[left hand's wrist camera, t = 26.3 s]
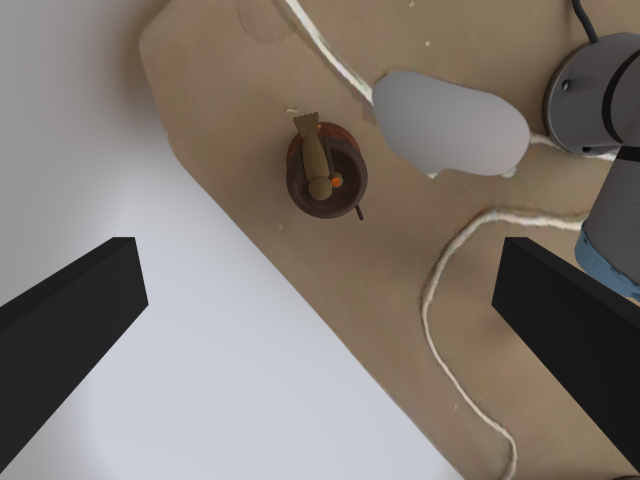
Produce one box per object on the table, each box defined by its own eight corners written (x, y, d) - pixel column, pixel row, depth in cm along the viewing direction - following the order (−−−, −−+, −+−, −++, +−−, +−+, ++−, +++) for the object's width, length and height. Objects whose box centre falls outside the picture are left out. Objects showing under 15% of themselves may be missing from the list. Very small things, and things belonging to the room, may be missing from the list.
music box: (265, 139, 50) (247, 146, 31) (330, 97, 49) (353, 78, 30) (319, 225, 54) (332, 277, 35) (379, 188, 53) (427, 222, 34)
